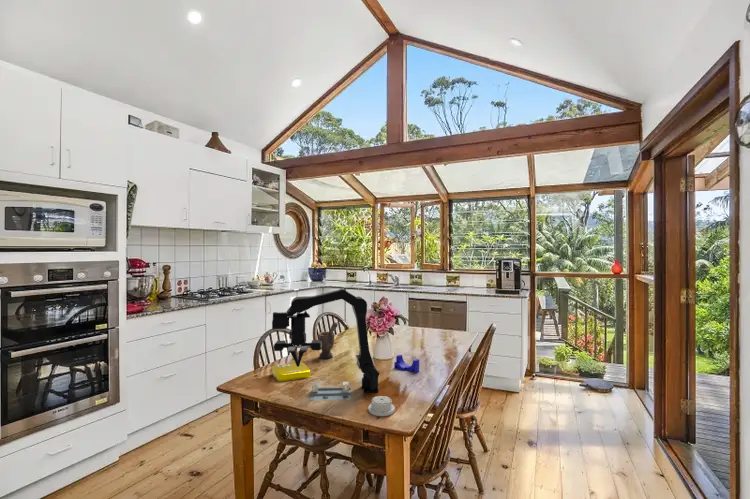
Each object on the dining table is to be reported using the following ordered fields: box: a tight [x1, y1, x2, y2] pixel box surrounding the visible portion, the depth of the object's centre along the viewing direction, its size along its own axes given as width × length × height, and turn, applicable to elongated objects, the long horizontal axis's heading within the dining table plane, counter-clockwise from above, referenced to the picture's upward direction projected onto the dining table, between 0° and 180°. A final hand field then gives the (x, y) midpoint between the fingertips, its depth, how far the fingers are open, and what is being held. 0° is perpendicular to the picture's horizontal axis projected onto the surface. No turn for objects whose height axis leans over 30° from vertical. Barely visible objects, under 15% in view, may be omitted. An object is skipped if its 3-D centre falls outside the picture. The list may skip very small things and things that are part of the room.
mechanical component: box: [367, 395, 396, 417], centre depth 142 cm, size 10×4×10 cm
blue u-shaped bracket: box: [394, 354, 420, 374], centre depth 187 cm, size 12×4×6 cm, turn 48°
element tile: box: [272, 361, 311, 383], centre depth 177 cm, size 15×15×5 cm
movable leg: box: [311, 381, 320, 393], centre depth 153 cm, size 2×8×4 cm, turn 4°
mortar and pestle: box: [317, 322, 339, 360], centre depth 206 cm, size 12×9×20 cm
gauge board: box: [309, 381, 352, 401], centre depth 154 cm, size 16×12×4 cm
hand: (298, 366), depth 155 cm, fingers closed
